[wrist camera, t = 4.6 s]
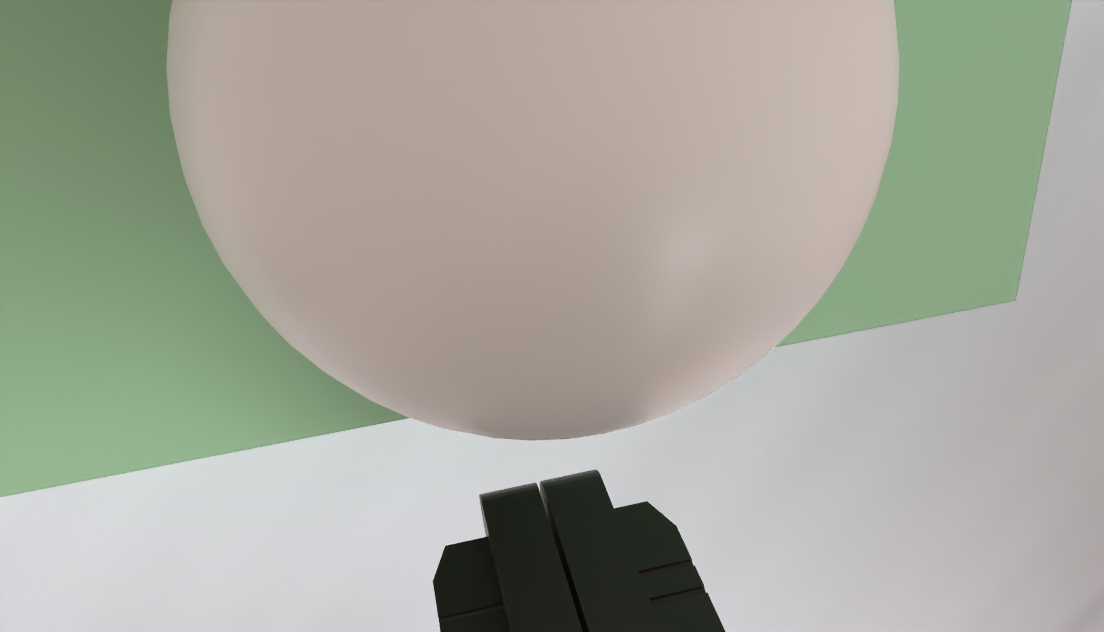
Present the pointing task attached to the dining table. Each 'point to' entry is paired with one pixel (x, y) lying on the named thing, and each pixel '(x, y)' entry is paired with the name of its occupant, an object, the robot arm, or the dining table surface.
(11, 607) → the dining table surface
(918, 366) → the dining table surface
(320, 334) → the ball
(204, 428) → the green
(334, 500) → the dining table surface
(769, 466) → the dining table surface
